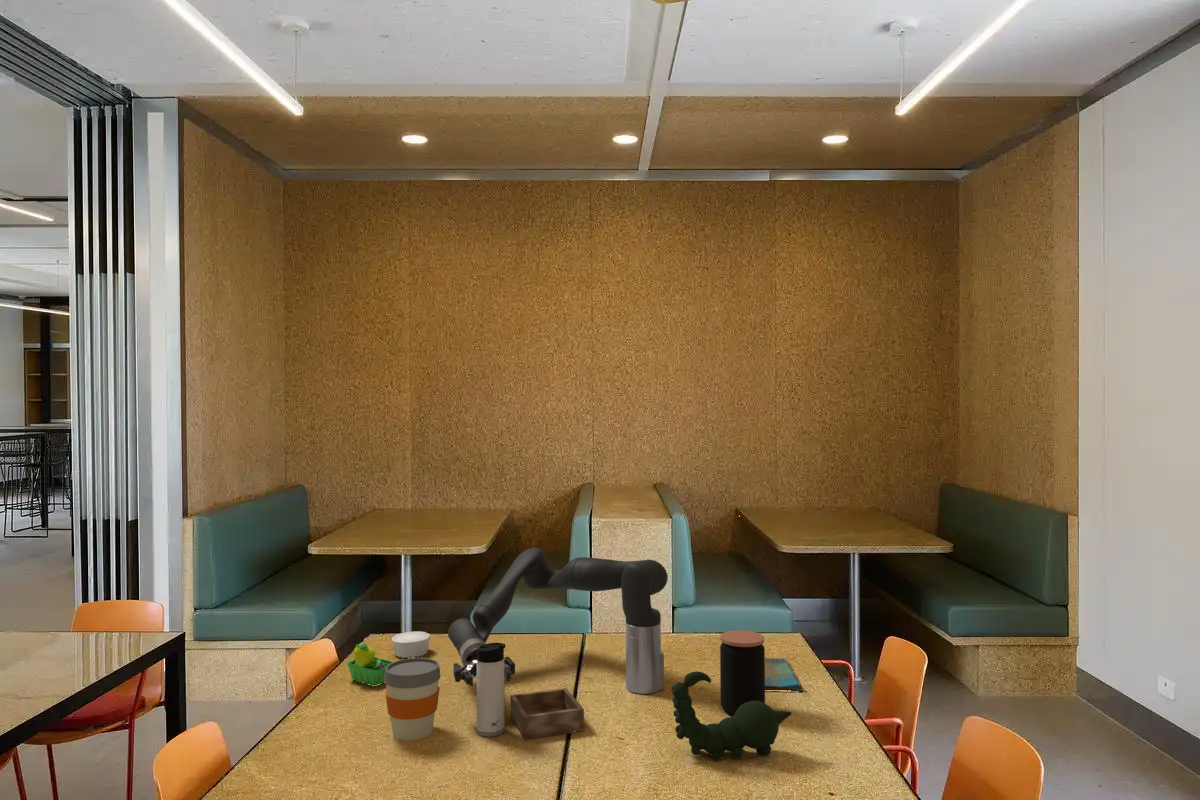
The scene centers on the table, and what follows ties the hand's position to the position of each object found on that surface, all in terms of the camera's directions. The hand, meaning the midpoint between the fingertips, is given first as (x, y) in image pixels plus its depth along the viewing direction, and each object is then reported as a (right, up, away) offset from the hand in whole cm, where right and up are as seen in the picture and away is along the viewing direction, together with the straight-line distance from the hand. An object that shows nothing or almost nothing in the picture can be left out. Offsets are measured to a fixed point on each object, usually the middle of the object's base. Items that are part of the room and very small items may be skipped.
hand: (489, 679), depth 177 cm
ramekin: (-32, -12, +55) cm, 64 cm away
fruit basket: (-37, -12, +31) cm, 50 cm away
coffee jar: (+60, -11, +10) cm, 62 cm away
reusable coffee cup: (-18, -12, -1) cm, 21 cm away
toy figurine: (+53, -11, -13) cm, 56 cm away
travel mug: (+1, -12, -1) cm, 12 cm away
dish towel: (+70, -12, +34) cm, 79 cm away
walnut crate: (+13, -11, +3) cm, 17 cm away
